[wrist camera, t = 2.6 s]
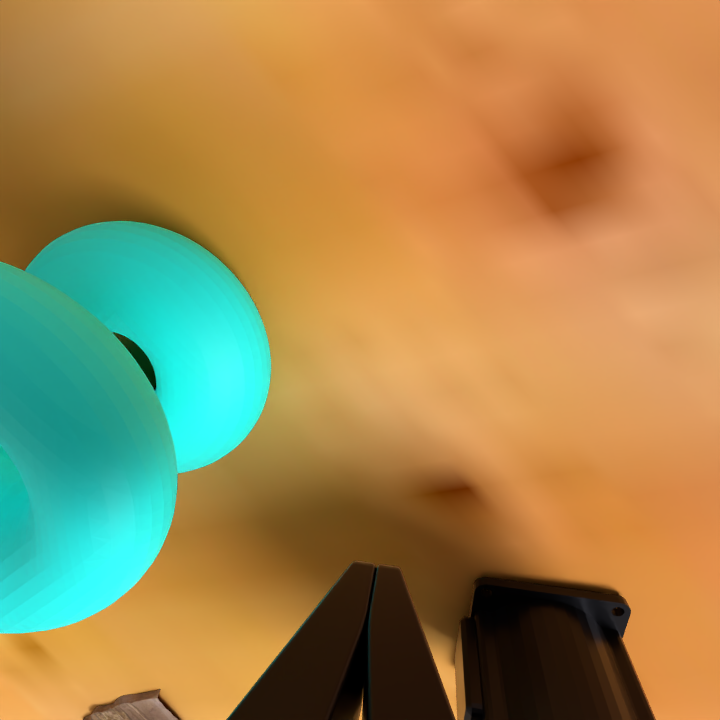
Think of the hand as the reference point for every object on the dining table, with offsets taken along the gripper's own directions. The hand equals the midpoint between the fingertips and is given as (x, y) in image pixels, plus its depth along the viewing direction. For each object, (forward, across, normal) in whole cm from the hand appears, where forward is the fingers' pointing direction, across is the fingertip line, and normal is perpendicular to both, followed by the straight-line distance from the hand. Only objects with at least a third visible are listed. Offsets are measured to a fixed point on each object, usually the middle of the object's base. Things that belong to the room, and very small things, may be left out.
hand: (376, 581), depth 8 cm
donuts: (+11, +10, 0) cm, 15 cm away
